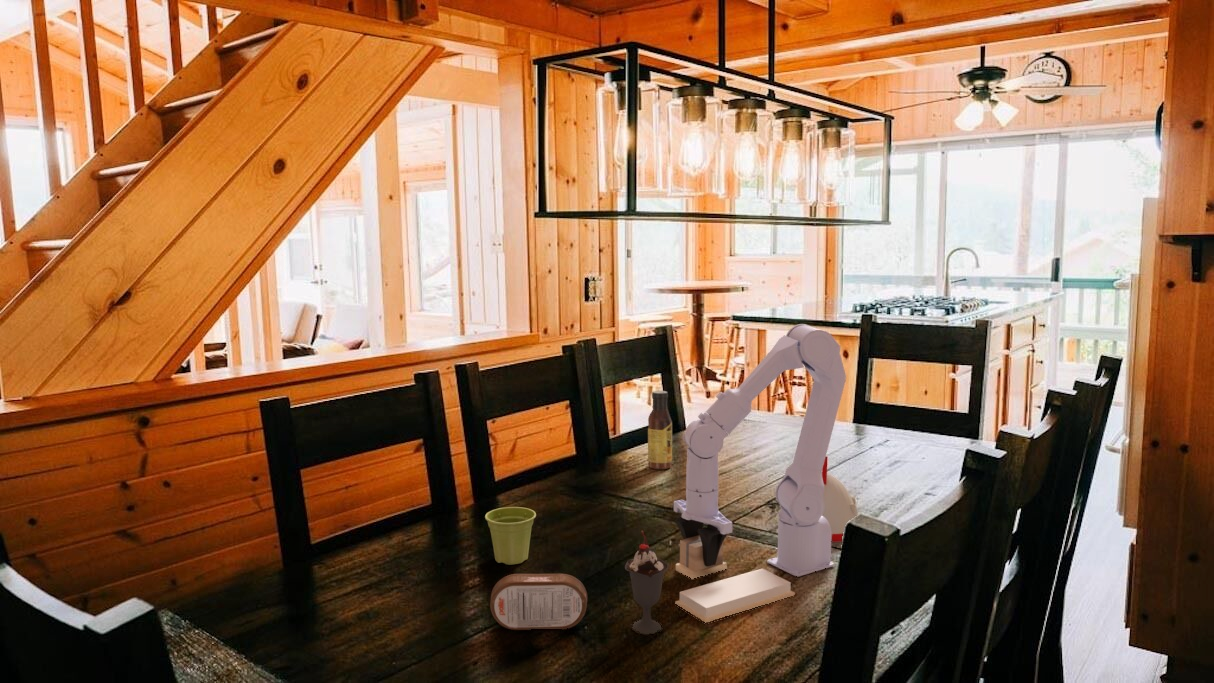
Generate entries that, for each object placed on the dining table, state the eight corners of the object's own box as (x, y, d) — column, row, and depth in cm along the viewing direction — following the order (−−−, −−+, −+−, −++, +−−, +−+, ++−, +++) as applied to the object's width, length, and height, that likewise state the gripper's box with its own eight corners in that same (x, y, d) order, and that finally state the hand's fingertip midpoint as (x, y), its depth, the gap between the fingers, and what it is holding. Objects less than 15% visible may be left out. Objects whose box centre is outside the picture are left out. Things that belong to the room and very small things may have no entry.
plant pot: (481, 553, 159) (480, 509, 158) (529, 546, 162) (528, 504, 161) (492, 572, 150) (491, 526, 149) (542, 564, 153) (541, 519, 152)
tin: (587, 622, 131) (587, 571, 130) (587, 631, 128) (587, 579, 127) (491, 623, 131) (490, 572, 129) (489, 633, 127) (488, 581, 126)
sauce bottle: (672, 470, 213) (673, 394, 210) (648, 470, 213) (648, 394, 211) (671, 463, 220) (671, 389, 217) (647, 463, 220) (647, 389, 217)
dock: (675, 604, 137) (675, 591, 136) (762, 579, 147) (762, 566, 146) (705, 624, 130) (705, 610, 130) (794, 595, 140) (794, 582, 140)
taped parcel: (709, 560, 155) (710, 531, 154) (726, 569, 151) (727, 539, 150) (675, 570, 151) (675, 540, 150) (692, 579, 147) (692, 548, 146)
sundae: (641, 613, 134) (642, 524, 132) (676, 626, 129) (677, 533, 127) (616, 629, 128) (615, 535, 126) (651, 642, 124) (651, 546, 122)
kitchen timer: (857, 521, 176) (860, 452, 174) (858, 545, 163) (861, 470, 161) (790, 515, 180) (792, 448, 178) (786, 538, 166) (788, 465, 164)
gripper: (660, 480, 153) (660, 551, 155) (710, 502, 141) (709, 579, 142) (691, 474, 156) (690, 544, 158) (742, 495, 144) (740, 570, 146)
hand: (701, 560), depth 151 cm, fingers closed on taped parcel, 4 cm apart
